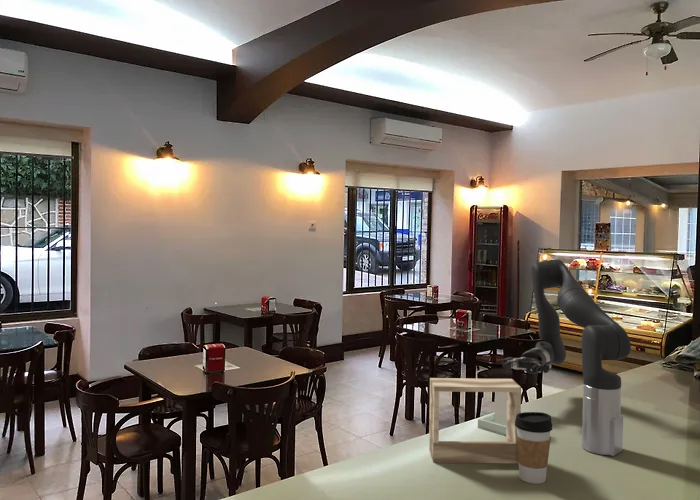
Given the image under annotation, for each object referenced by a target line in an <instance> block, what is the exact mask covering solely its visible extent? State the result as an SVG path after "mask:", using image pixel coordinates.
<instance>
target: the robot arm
mask: <svg viewBox="0 0 700 500" xmlns="http://www.w3.org/2000/svg"><path fill="white" fill-rule="evenodd" d="M530 277H531V285H532V289H533V296H534V301H535V306H536V310H537V311H536V312H537V318H538V320H537V321H538V335H539V336H538V337H539V338H540V339H541V341H538V342H536V344H535V347H533V348H531V349H528V350H526V351H524V352H523V353H522V355H521V356H520V357H512V356H508V357H505V358H503V359H502V368H503V369H504V371H509V370H511V369H514V370H523V371H524V372H526V373H528V374H531V375H535V374H538V373H542V372H543V373H544V374H548V373H549V372H550V371H551V370H552V364H553V365H554V364H555V365H561V364H562V363H564V362H565V360H566V358H567V352H566V347H565V345H564V342H563V339H562V337H561V327H560V326H561V320H560V316H559V314H558V312H557V310H556V309H555V308H554V307H553V306H552V304H551V303H550V301H549V300H548V298H547V297H546V295H545V290H547V289H552V288H553V289H554V288H560V289H559V291H558V295H557V299H556V301H557V305H558V308H559V309H560V311H561V312H562V314H563V315H564V316H565V317H566V319H568V321H570V322H571V323H573V324H574V325H577V326H579V327H581V328H583V331H582V335H581V359H582V361H581V366H582V367H581V369H582V376H583V377H582V378H583V381H582V382H583V385H582V386H583V387H582V388H583V389H582V391H583V392H582V423H581V424H582V425H581V426H582V428H581V447H582V449H584V450H585V451H588V452H590V453H592V454H597V455H602V456H603V455H605V456H611V457H616V455H618V454H619V453H620V452H622V451H623V444H624V443H623V442H624V441H623V440H624V439H623V438H624V435H623V434H624V415H623V414H621V412H622V411H621V410H622V409H621V408H622V407H621V406H622V401H621V400H622V398H621V397H622V378H621V376H620V375H619V374H617V373H615V372H612V371H609V370H606V369H605V368H603V364H602V361H620V360H623V359H625V358H627V357H629V355H630V354H631V349H632V346H631V345H632V344H631V340H630V337H629V335H628V333H627V332H626V329H624V328H623V327H622V326H621V324H619V323H618V322H617V321H615V320H614V319H613V318H612V317H611V316H610V315H608V314H607V313H606V312H605V311H604V310H603V309H602V308H601V306H600V305H599V304H597V302H595V300H594V298H592V297H591V295H590V294H589V293H588V292H587V291H586V290H585V289H584V288H583V287H582V285H580V284H579V282H578V281H577V280H576V278H575V277H574V276H573V274H572V272H571V271H570V269H569V268H568V266H567V265H566V263H565V262H564V261H562V260H561V259H559V258H557V259H556V258H555V259H548V260H543V261H538V262H537V261H536V262H534V263H532V265H531V268H530Z"/></svg>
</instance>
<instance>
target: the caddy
mask: <svg viewBox="0 0 700 500" xmlns="http://www.w3.org/2000/svg"><path fill="white" fill-rule="evenodd" d="M494 412H495V423H497V424H500V425H504V426H506V425H507V392H494Z"/></svg>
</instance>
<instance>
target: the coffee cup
mask: <svg viewBox="0 0 700 500" xmlns="http://www.w3.org/2000/svg"><path fill="white" fill-rule="evenodd" d="M552 422H553V421H552V415H550V414H548V413H547V412H546V413H545V412H538V411H524V412H521V413H519V414H517V415H516V420H515V426H516V427H517V433H516V438H517V451H518V462H519V463H518V476H519V479H520V480H522V481H523V482H525V483H529V484H534V485H535V484H536V485H537V484H543V483H545V482H546V479H547V472H548V471H547V469H548V464H549V463H548V462H549V457H550V456H549V454H550V446H551V445H550V444H551V437H552V436H551V431H553V423H552Z"/></svg>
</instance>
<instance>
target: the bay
mask: <svg viewBox="0 0 700 500" xmlns="http://www.w3.org/2000/svg"><path fill="white" fill-rule="evenodd" d="M440 392H442V393H443V392H446V393H447V392H453V393H455V392H457V393H459V392H462V393H463V392H465V393H466V392H467V393H469V392H470V393H495V392H507V425H506V436H505V437H506V438H505V441H477V440H476V441H474V440H473V441H471V440H469V441H465V440H463V441H462V440H460V441H459V440H458V441H456V440H455V441H453V440H448V441H447V440H443V441H442V440H439V435H440V434H439V430H440V429H439V427H440V424H439V423H440ZM521 406H522V387H521V386H520V385H519V384H518V382H516V381H515V380H514V379H513V378H480V377H479V378H477V377H476V378H474V377H473V378H472V377H471V378H469V377H467V378H464V377H463V378H461V377H460V378H458V377H457V378H456V377H454V378H453V377H450V378H449V377H429V418H428V420H429V422H428V423H429V426H428V430H429V431H428V437H429V438H428V451H429V455H430V457H431V459H432V462H433V463H434V464H435V463H442V464H446V463H447V464H450V463H452V464H453V463H454V464H455V463H457V464H460V463H461V464H519V462H518V451H517V438H516V433H517V427H516V426H515V420H516V415H517V414H519V413H522V411H521V410H522V407H521Z"/></svg>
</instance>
